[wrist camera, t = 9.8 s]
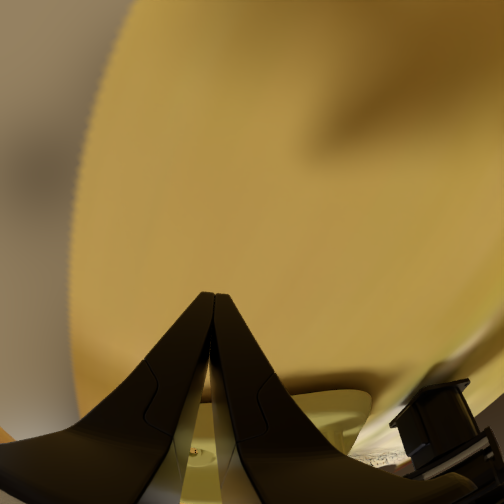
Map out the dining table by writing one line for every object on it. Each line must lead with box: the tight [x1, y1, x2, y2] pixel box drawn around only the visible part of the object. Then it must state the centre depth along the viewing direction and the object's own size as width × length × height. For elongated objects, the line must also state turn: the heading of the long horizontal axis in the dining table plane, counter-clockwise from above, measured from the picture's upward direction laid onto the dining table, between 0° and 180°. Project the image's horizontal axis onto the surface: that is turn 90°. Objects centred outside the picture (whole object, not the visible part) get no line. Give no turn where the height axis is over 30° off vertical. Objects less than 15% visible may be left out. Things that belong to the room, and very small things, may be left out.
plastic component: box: [180, 389, 372, 504], centre depth 19 cm, size 20×7×10 cm
